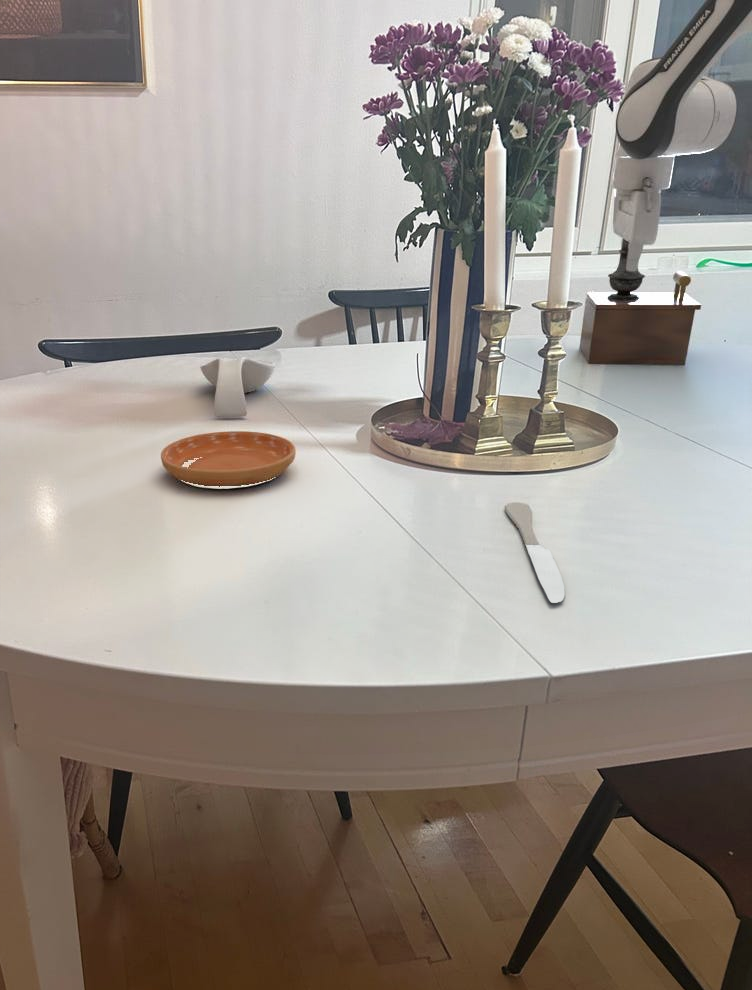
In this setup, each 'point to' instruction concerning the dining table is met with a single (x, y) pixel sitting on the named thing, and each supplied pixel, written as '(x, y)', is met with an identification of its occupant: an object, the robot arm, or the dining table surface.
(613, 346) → the chest
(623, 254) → the salt shaker
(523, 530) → the utensil handle
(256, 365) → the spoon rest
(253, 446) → the saucer
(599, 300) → the lid
